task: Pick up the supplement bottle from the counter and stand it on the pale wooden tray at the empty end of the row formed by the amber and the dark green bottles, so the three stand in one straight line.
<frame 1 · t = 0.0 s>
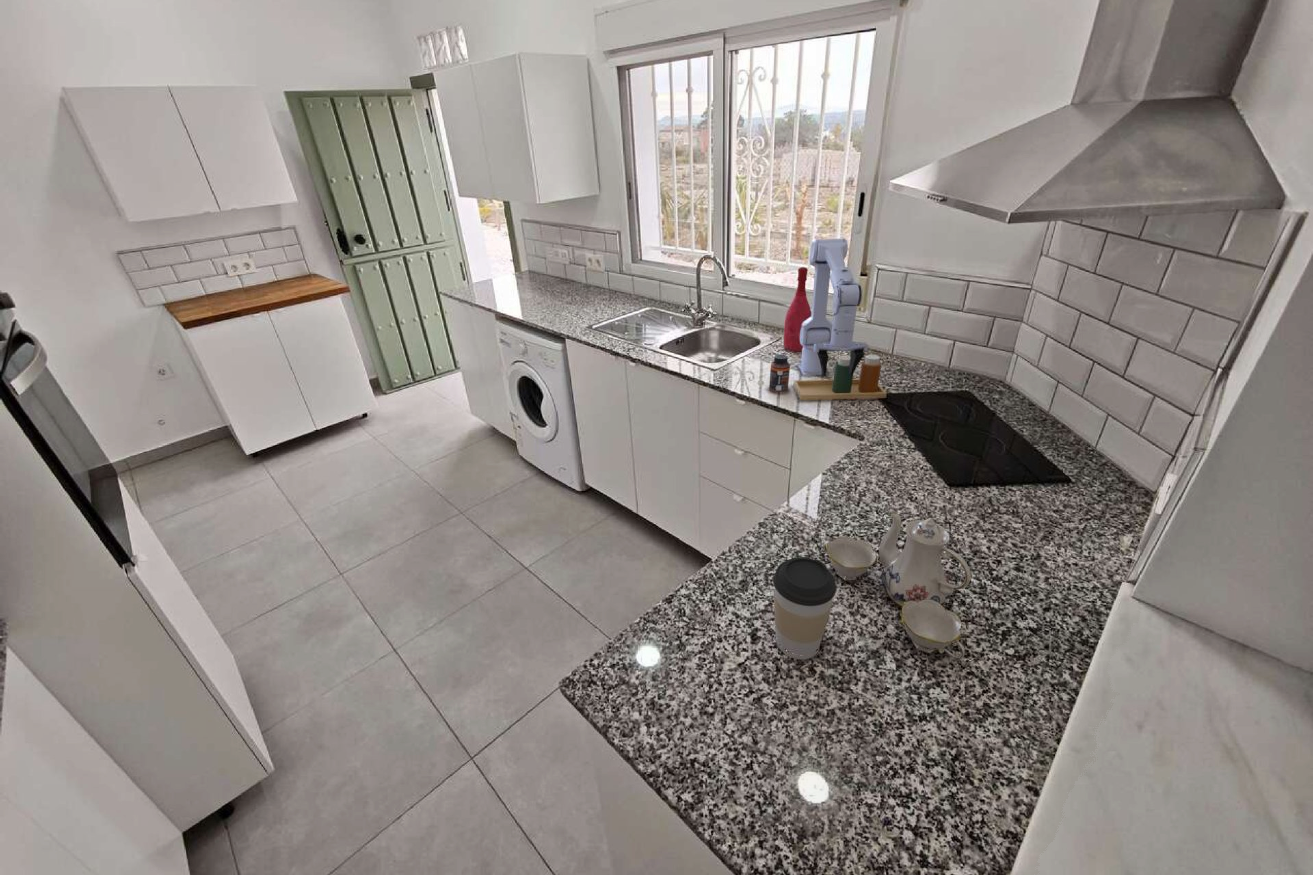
hand: (837, 374, 155), 10 cm above the countertop, tool pointing down, fingers open, 7 cm apart
dark green bottle: (841, 390, 168), resting on tray
coffee cup: (797, 642, 86), on the countertop
wine bottle: (796, 348, 206), on the countertop
amber bottle: (867, 390, 168), resting on tray
tray: (837, 392, 168), on the countertop
supplement bottle: (778, 390, 172), on the countertop
chinaware: (898, 599, 93), on the countertop
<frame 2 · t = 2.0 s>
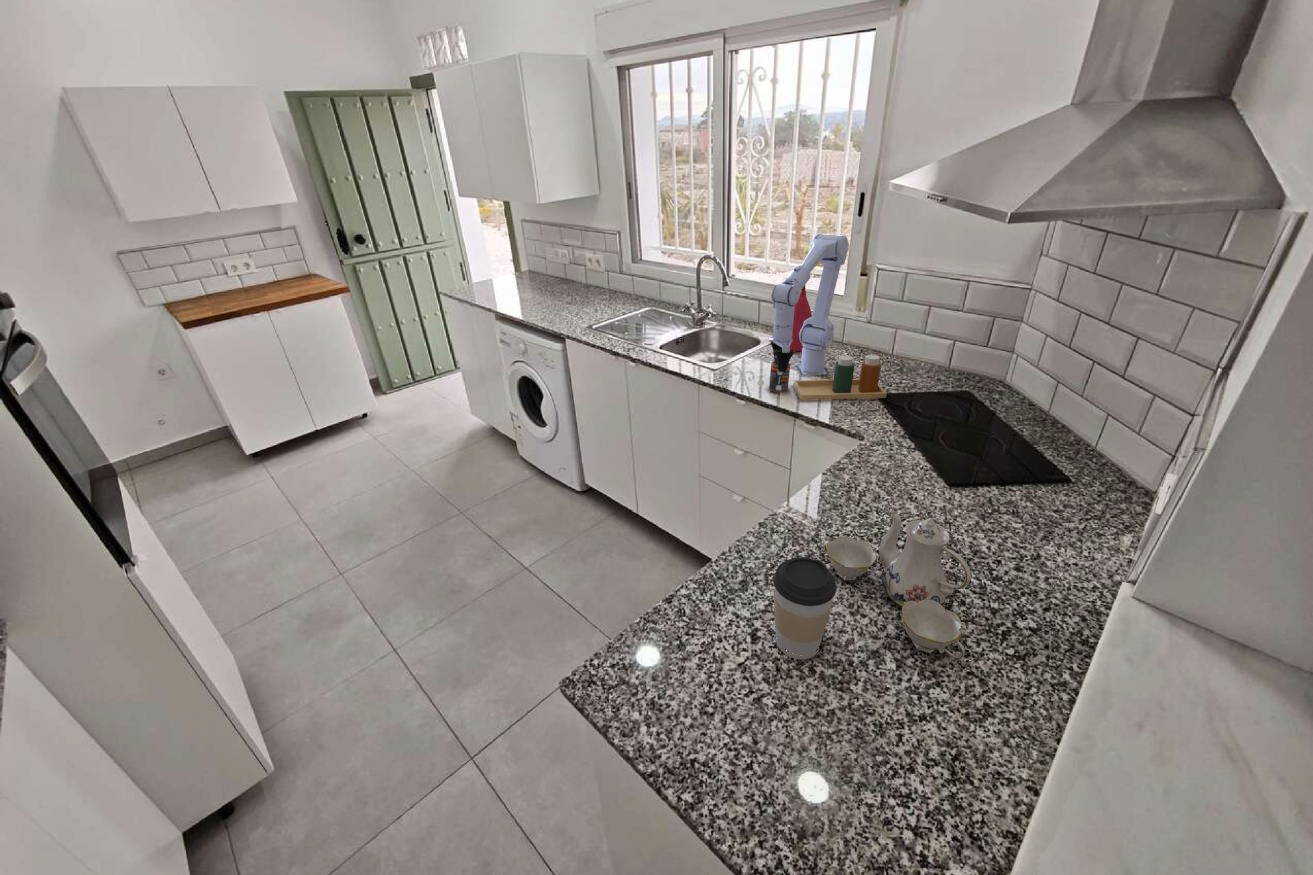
hand: (780, 367, 168), 8 cm above the countertop, tool pointing down, fingers open, 7 cm apart
nothing on the countertop moved.
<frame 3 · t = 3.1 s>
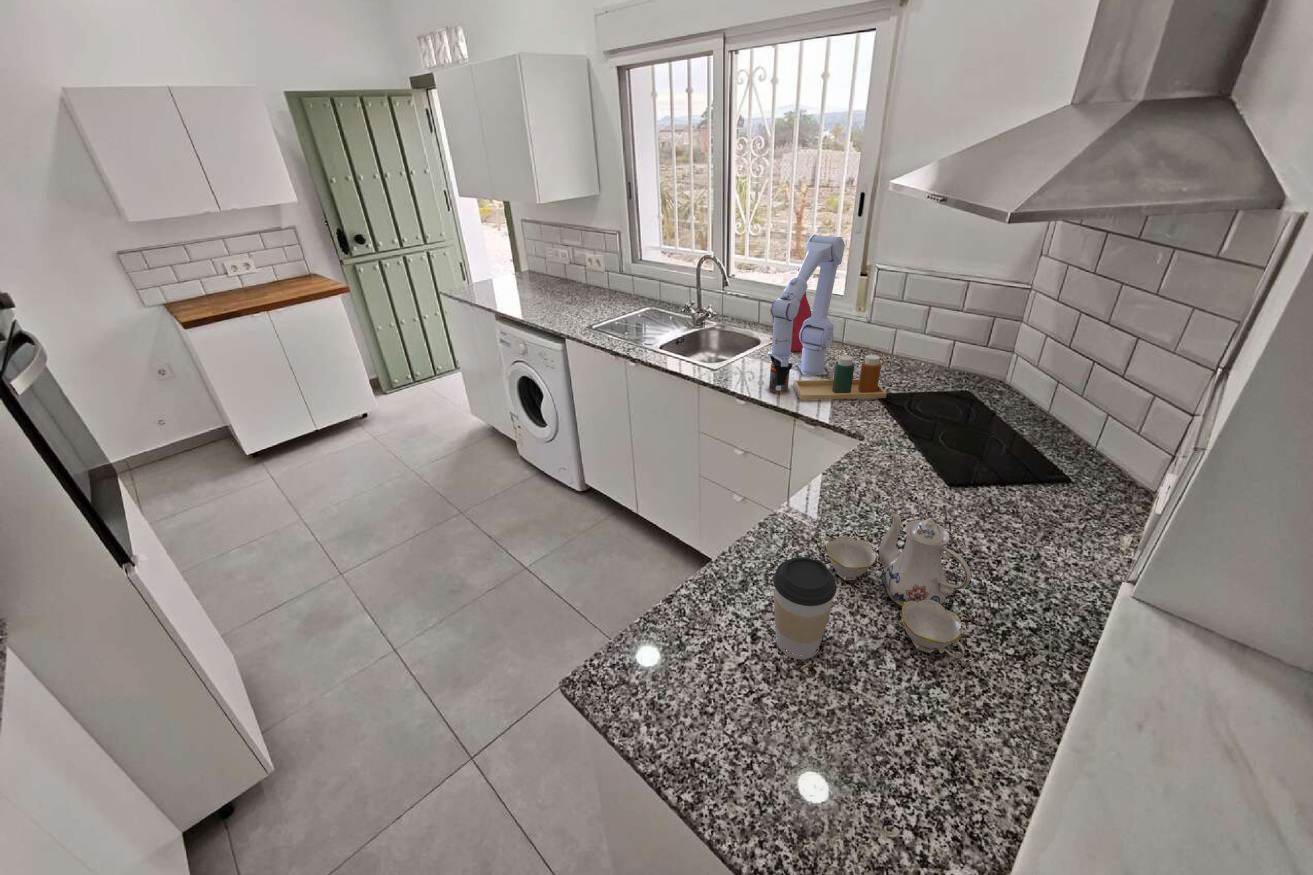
hand: (779, 380, 170), 3 cm above the countertop, tool pointing down, fingers closed on supplement bottle, 6 cm apart
supplement bottle: (778, 390, 172), on the countertop, touching gripper
everything else where it was.
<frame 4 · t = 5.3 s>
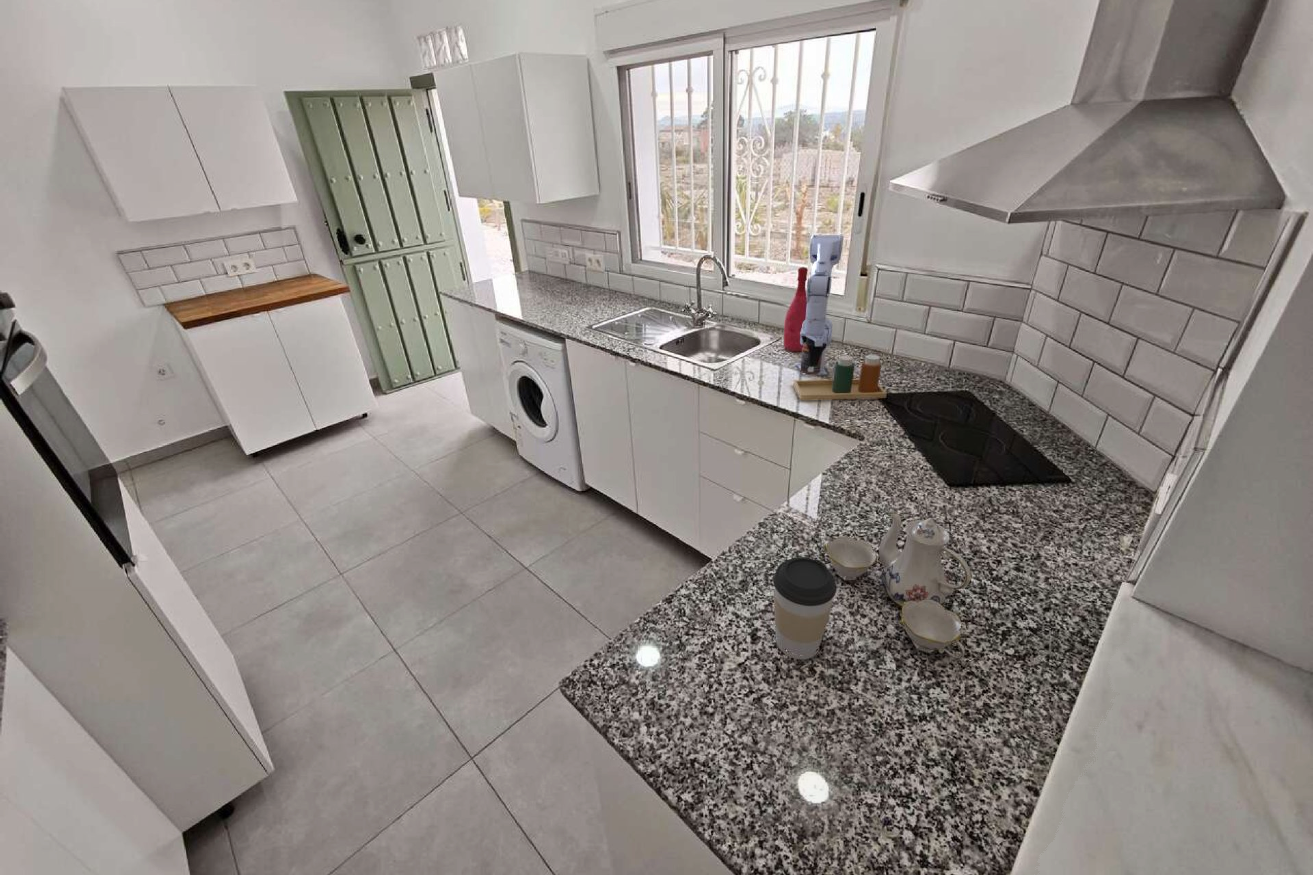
hand: (811, 361, 164), 10 cm above the countertop, tool pointing down, fingers closed on supplement bottle, 6 cm apart
supplement bottle: (810, 372, 166), point 7 cm above the countertop, touching gripper
everything else where it was.
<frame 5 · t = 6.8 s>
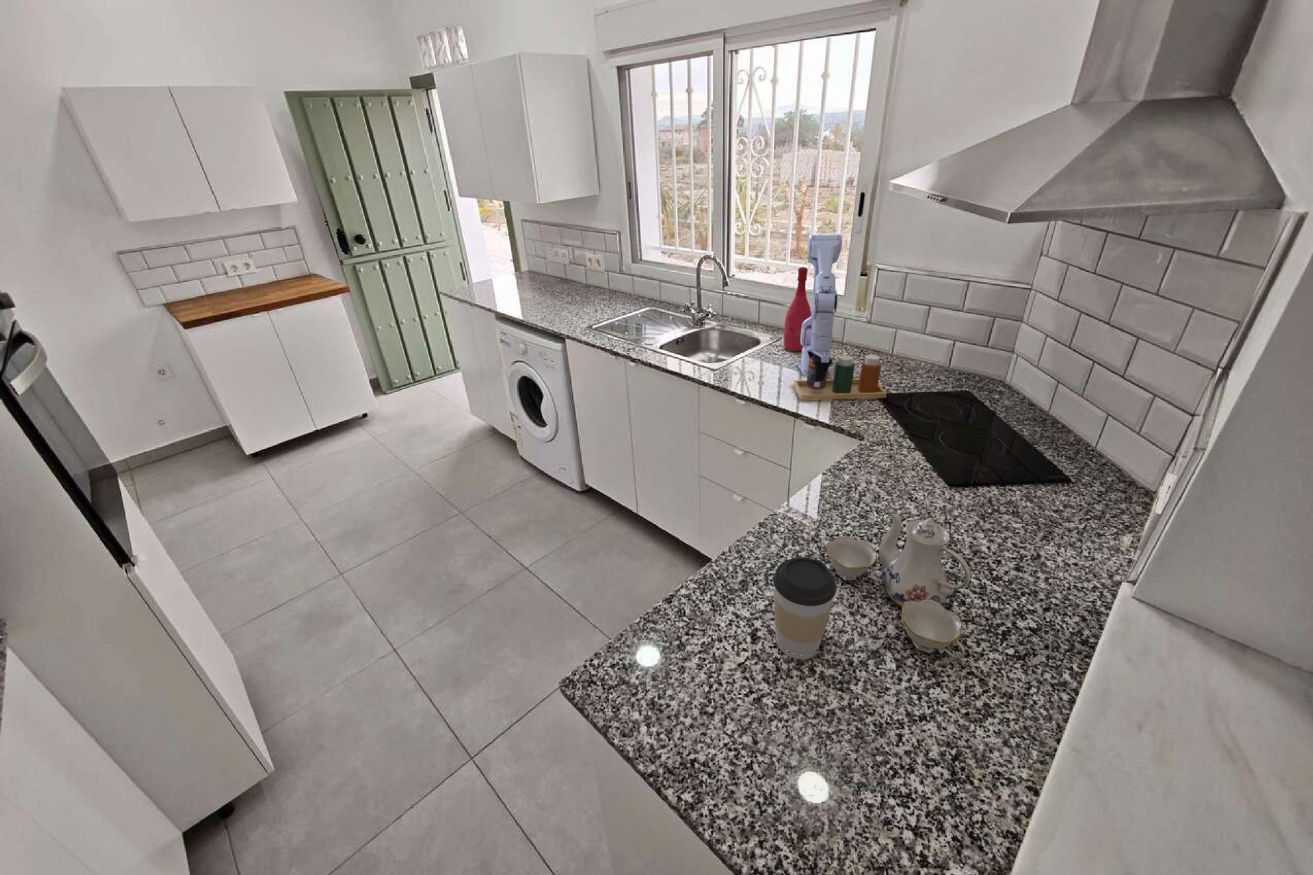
hand: (817, 376, 166), 6 cm above the countertop, tool pointing down, fingers closed on supplement bottle, 6 cm apart
supplement bottle: (816, 387, 168), point 2 cm above the countertop, touching gripper
everything else where it was.
when the fingers open (4 cm above the countertop, at t = 8.0 s): supplement bottle stays where it is, resting on tray.
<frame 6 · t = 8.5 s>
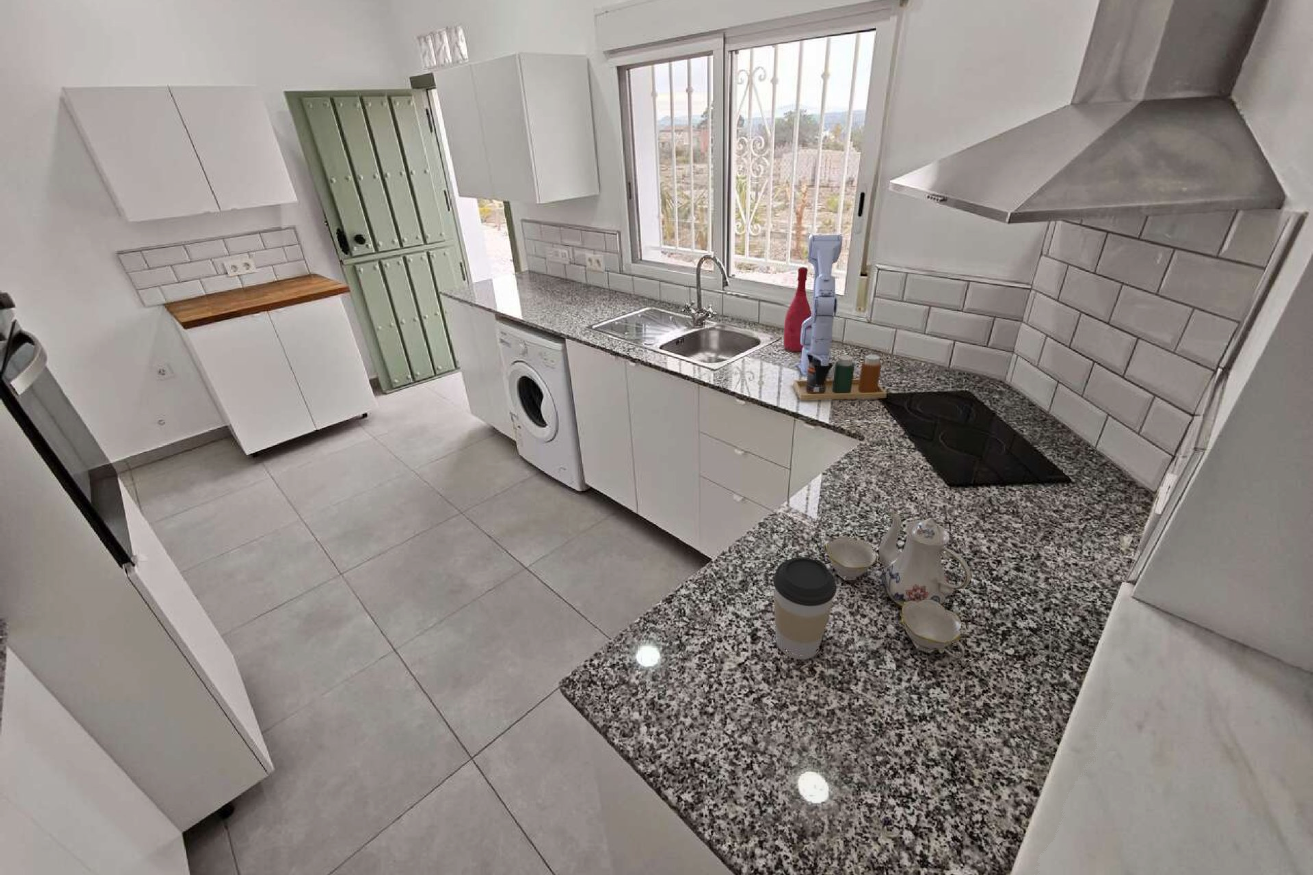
hand: (816, 379, 167), 5 cm above the countertop, tool pointing down, fingers open, 7 cm apart
supplement bottle: (815, 392, 169), resting on tray
everything else where it was.
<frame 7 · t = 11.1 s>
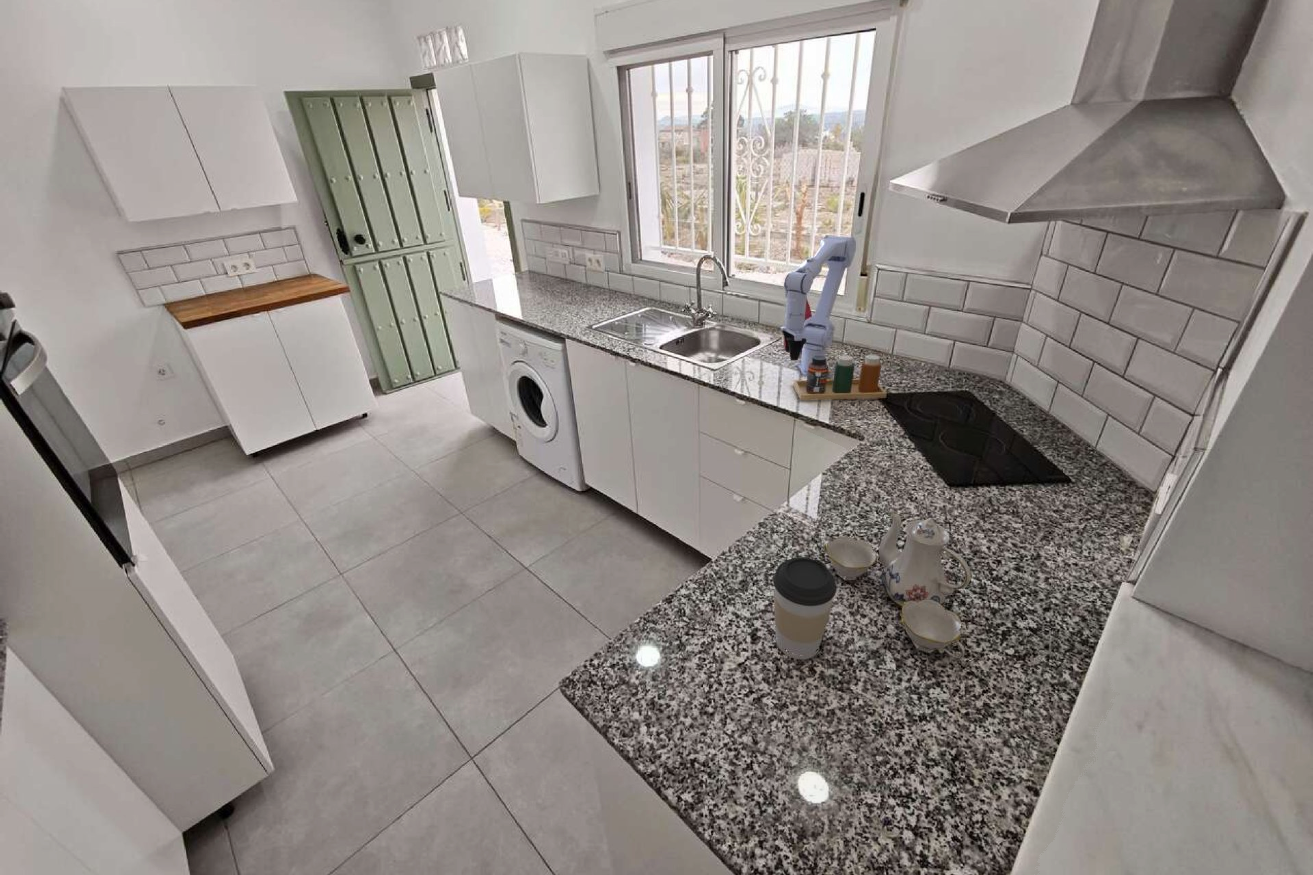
hand: (791, 355, 169), 10 cm above the countertop, tool pointing down, fingers open, 7 cm apart
nothing on the countertop moved.
at the end: supplement bottle 0.0 cm from the target spot in the tray, point 0.3 cm above the tray's base; supplement bottle tilted 0°; the gripper is holding nothing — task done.
